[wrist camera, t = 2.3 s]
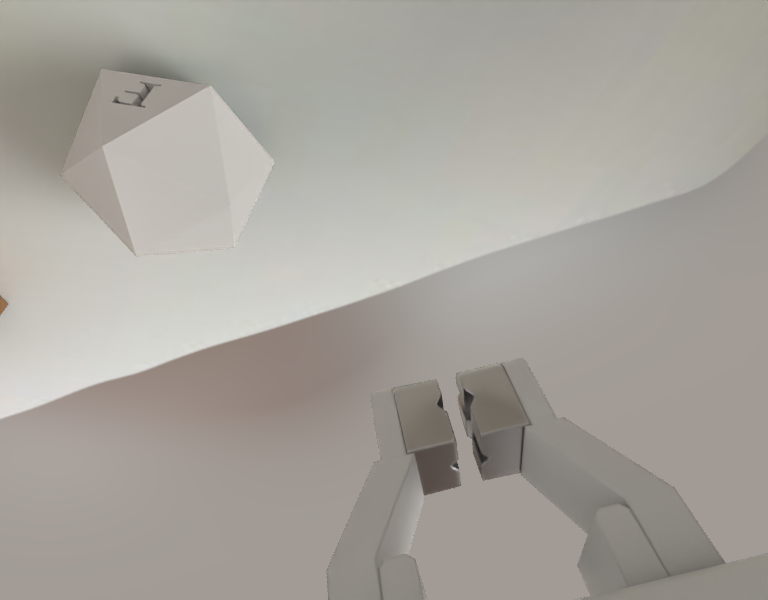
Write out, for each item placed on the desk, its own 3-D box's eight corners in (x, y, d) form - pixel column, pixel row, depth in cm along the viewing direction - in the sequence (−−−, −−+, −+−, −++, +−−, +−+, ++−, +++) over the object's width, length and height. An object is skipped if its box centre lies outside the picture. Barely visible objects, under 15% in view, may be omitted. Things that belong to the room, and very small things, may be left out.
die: (299, 117, 27) (216, 42, 17) (277, 266, 28) (188, 276, 18) (165, 96, 28) (13, 13, 18) (149, 241, 29) (-1, 239, 19)
